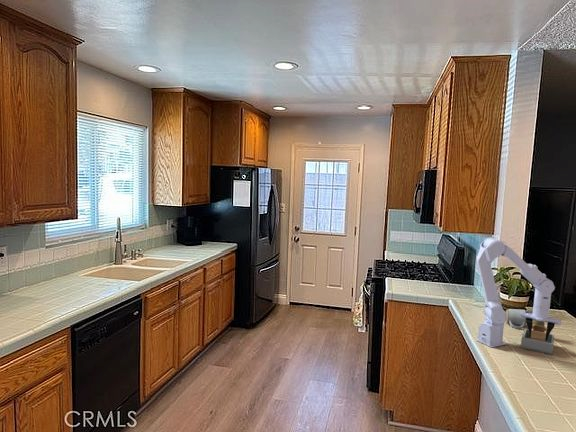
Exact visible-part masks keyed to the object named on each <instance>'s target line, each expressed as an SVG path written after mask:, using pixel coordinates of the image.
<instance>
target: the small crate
mask: <svg viewBox="0 0 576 432" xmlns="http://www.w3.org/2000/svg"><path fill="white" fill-rule="evenodd" d="M546 332H547V326H545V327H544V326H539V325H534V324H533V326H532V330H531V339H534V340H538V341H543V342H545V338H546Z"/></svg>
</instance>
